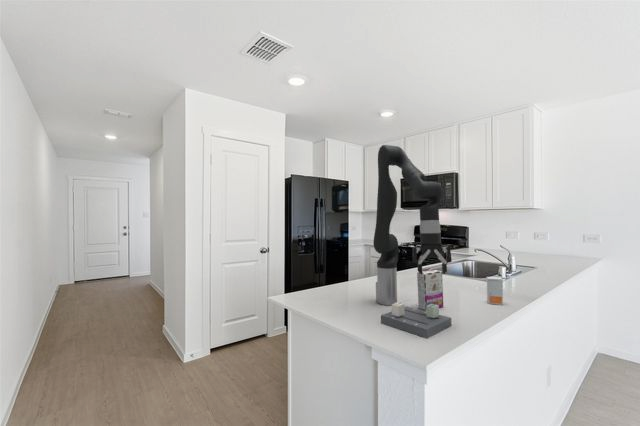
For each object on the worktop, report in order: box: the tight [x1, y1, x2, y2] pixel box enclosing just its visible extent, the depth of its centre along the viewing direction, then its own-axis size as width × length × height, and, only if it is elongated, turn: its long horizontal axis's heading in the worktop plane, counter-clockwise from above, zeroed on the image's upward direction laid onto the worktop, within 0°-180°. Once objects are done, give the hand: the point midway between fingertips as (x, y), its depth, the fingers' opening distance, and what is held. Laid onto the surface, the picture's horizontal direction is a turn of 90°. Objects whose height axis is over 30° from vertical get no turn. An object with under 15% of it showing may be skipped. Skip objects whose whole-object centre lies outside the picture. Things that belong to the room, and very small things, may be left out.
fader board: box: [380, 305, 452, 339], centre depth 116 cm, size 20×17×3 cm
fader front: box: [391, 302, 405, 317], centre depth 118 cm, size 3×4×4 cm
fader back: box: [426, 304, 440, 318], centre depth 115 cm, size 3×4×4 cm
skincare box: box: [486, 276, 504, 306], centre depth 141 cm, size 6×4×12 cm
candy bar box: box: [416, 269, 444, 311], centre depth 137 cm, size 11×5×16 cm, turn 118°
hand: (432, 273), depth 117 cm, fingers open, 8 cm apart
